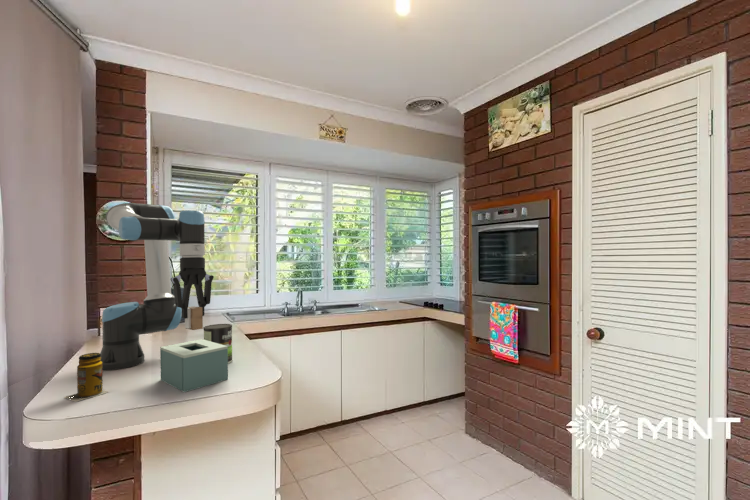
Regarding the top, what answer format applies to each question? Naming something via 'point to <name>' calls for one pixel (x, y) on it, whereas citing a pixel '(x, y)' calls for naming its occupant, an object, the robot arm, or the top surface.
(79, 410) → the top surface
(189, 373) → the teal box with hole
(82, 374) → the condiment
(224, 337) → the coffee can
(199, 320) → the tan upright block
